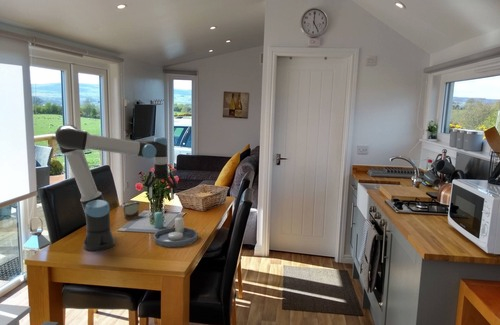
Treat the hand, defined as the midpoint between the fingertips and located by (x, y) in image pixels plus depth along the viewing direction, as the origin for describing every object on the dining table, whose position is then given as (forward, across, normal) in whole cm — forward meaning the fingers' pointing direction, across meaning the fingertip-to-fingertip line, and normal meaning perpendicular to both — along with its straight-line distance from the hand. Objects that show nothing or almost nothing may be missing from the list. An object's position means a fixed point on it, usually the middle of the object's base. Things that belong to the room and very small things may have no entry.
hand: (161, 198), depth 227 cm
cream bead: (+18, -14, +8) cm, 24 cm away
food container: (+19, +29, -18) cm, 39 cm away
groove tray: (+19, -14, +16) cm, 28 cm away
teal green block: (+19, +3, -2) cm, 19 cm away
